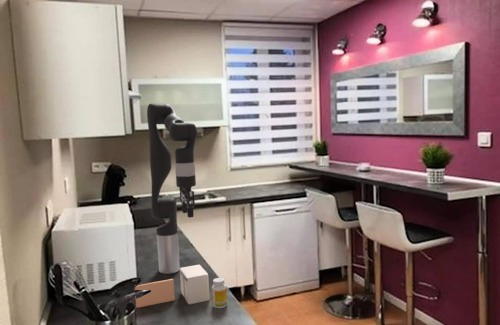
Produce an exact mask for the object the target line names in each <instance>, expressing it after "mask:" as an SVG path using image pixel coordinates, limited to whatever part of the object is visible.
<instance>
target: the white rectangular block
mask: <svg viewBox="0 0 500 325" xmlns="http://www.w3.org/2000/svg"><path fill="white" fill-rule="evenodd" d="M178 272H179V278H180V280H179V282H180V293H181V295H182V296H183V298H184V299H185V301H186V302H187V304H188V305H193V304H197V303H202V302H209V301H210V300H211V299H210V282H209V280H210V279H209V274H208V272H207V271H206V270H205V269H204V268H203V266H202V265H201V264H195V265H189V266H184V267H183V266H182V267H180V269H179V271H178Z"/></svg>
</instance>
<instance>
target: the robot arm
mask: <svg viewBox="0 0 500 325" xmlns="http://www.w3.org/2000/svg"><path fill="white" fill-rule="evenodd" d="M146 118H147V127H148V128H147V129H148V136H149V138H148V139H149V163H150V164H149V165H150V166H149V167H150V175H151V176H150V178H151V179H150V180H151V204H150V205H151V207H150V209H151V210H150V211H151V216H152V218H153V219H154V220H162V219H165V220H166V219H169V220H168V221H167V222H166V223H164V224H161V225H159V226H158V227H156V230H155V231H156V244H157V246H156V247H157V257H158V258H157V259H158V272H159V273H160V274H162V275H163V274H164V275H166V274H167V275H169V274H175V273H177V272H179V269H180V268H181V266H180V251H179V250H180V249H179V248H180V247H179V237H178V236H179V234H178V220H177V219H178V217H177V216H178V215H177V211H178V209H177V208H178V206H177V200H176V198H175V197H160V193H161V189H162V187H163V185H164V183H165V181H166V179H167V177H168V176H169V174H170V172H171V170H172V153H171V151H170V149H169V148H168V146H167V145H166V142H164V140H163V139H162V138H161V137H162V136H160V132H159V130H158V127H157V126H158V125H164V128H165V129H166V130H167V132H168V134H169V138H170V139H171V141H173V142H186V143H185V145H183V146H180V147H177V148H176V149H175V151H174V154H175V184H176V185H175V186H176V187H177V188H178V189H179V201H180V204H181V208H182V209H181V211H182V213H183V214H187V218H193V217H194V207H196V203H195V201H196V199H195V191H194V190H192V187H195V186H196V185H197V181H196V167H195V157H194V154H195V153H194V150H195V143H196V139H197V135H198V129H197V127H196V125H195V123H193V122H185V120H184V119H182V118H180V117H179V116H178V115H177V113H176V111H175V109H174V108H173V107H172V105H170V104H168V103H149V104H148V105H147V108H146Z"/></svg>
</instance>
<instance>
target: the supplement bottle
mask: <svg viewBox="0 0 500 325" xmlns="http://www.w3.org/2000/svg"><path fill="white" fill-rule="evenodd" d="M212 284H213V285H211V303H212V304H211V306H212V307H213V308H215V309H223V308H225V307H227V306H228V296H227V285H226V284H225V279H224V278H223V277H216V278H213V280H212Z"/></svg>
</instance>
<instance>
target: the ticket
mask: <svg viewBox="0 0 500 325" xmlns="http://www.w3.org/2000/svg"><path fill="white" fill-rule="evenodd" d="M136 285H137V286H136ZM136 285H135V286H136V287H135V286H134V291H135V290H151V292H150V293H148V294H146V295H144V296H142V297H140V298H137V299H136V298H135V307H136V308H143V307H147V306H152V305H153V306H154V305H157V304H161V303H167V302H171V301H175V300H176V299H175V298H176V297H175V283H174V278H169V279H165V280H159V281H153V282H147V283H142V284H136Z"/></svg>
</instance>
